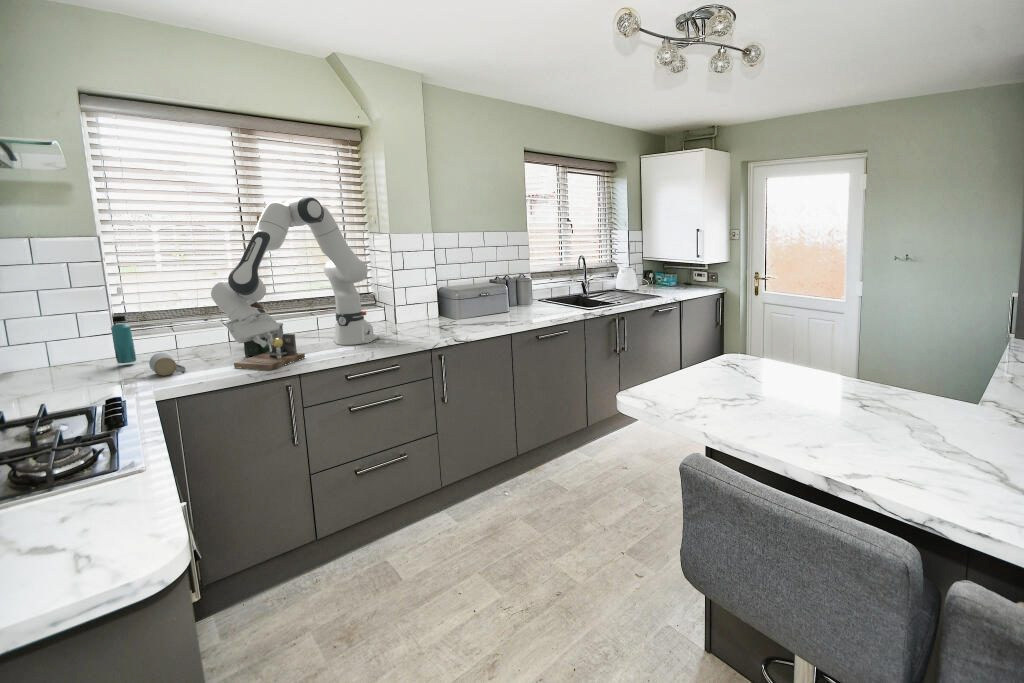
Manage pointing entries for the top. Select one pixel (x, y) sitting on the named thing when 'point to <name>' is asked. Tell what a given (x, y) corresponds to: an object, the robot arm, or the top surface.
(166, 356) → the ceramic mug
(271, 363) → the stand
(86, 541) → the top surface
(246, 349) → the coffee jar
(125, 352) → the beverage bottle
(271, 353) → the capstan
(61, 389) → the top surface
